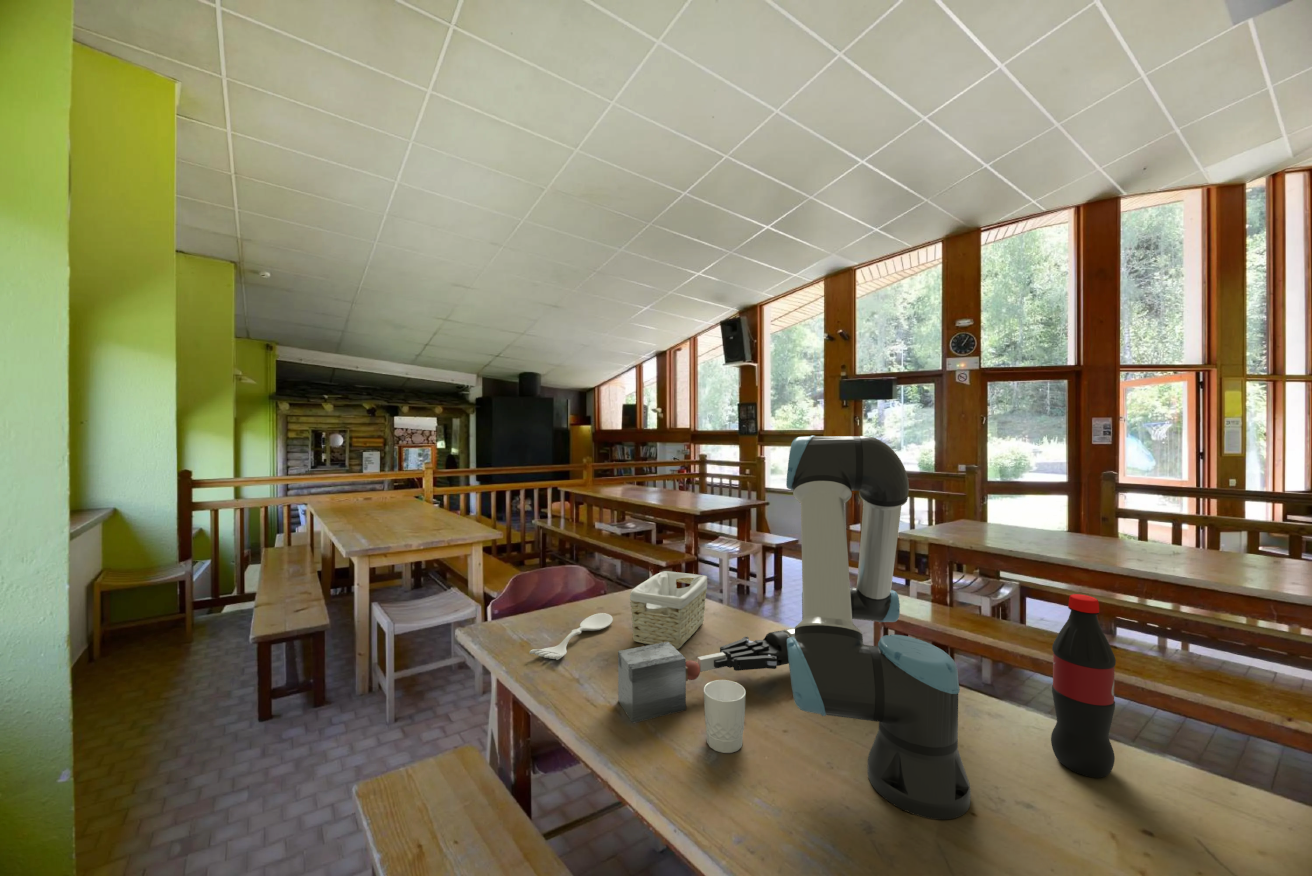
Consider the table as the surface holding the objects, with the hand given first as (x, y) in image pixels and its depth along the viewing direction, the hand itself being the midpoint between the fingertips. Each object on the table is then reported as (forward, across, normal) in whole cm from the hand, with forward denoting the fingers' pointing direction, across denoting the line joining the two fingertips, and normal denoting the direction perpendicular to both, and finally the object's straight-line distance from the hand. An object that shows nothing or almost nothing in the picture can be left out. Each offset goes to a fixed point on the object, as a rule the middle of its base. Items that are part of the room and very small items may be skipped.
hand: (699, 664), depth 112 cm
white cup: (+4, -18, -7) cm, 19 cm away
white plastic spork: (+19, +38, -7) cm, 43 cm away
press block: (+12, -1, -6) cm, 13 cm away
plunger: (+7, -1, -3) cm, 8 cm away
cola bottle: (-51, -48, -7) cm, 70 cm away
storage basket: (-8, +33, -7) cm, 35 cm away
